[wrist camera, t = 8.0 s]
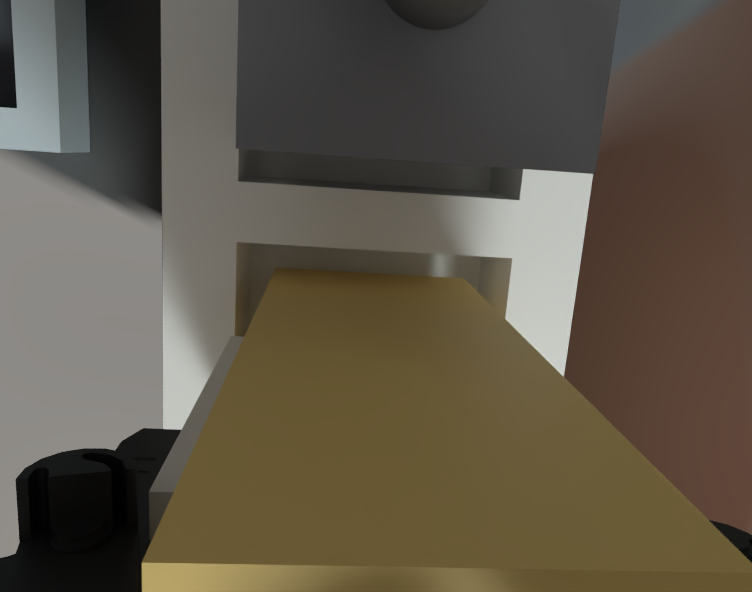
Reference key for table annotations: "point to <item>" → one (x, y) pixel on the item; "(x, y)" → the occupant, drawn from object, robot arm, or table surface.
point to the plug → (417, 461)
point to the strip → (332, 217)
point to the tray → (48, 78)
